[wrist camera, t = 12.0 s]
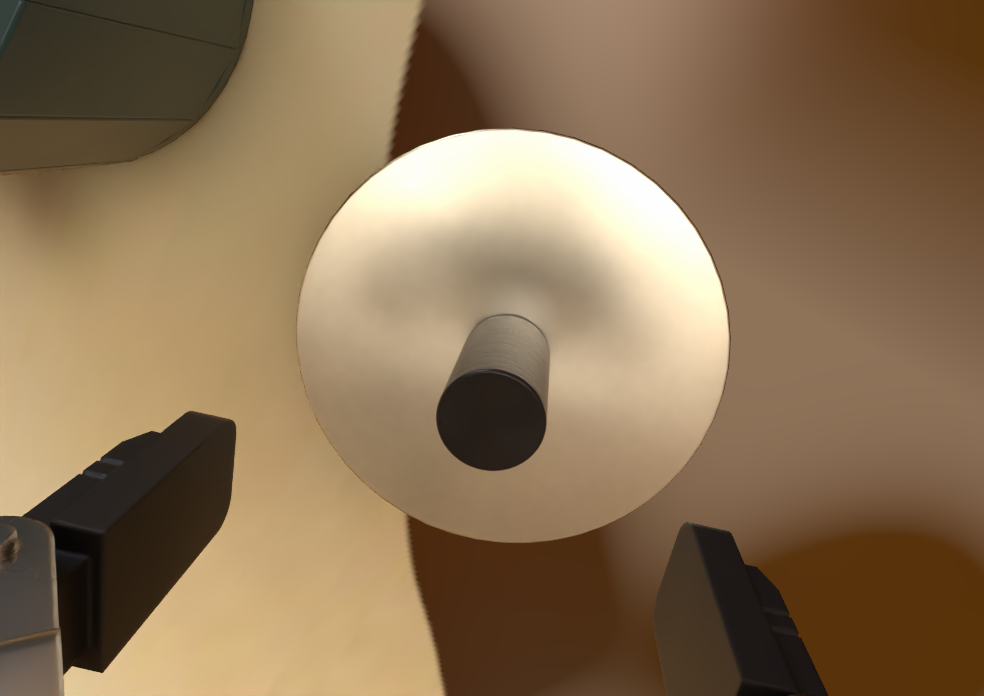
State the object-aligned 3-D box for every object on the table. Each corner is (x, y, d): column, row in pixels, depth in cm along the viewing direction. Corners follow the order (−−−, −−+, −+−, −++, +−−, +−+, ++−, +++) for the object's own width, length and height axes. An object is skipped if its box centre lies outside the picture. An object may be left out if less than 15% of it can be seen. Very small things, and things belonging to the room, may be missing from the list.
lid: (276, 459, 24) (186, 564, 18) (356, 70, 19) (270, 48, 14) (635, 569, 24) (659, 709, 18) (793, 203, 19) (888, 236, 14)
